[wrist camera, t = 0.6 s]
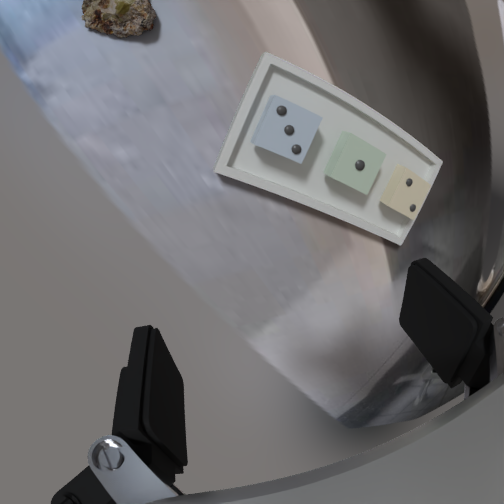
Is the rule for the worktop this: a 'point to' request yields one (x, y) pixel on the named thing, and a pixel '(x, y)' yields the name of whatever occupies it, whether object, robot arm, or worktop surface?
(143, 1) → the mineral rock
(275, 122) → the key three dots
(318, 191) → the key panel
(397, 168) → the key two dots
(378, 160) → the key one dot
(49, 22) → the worktop surface
